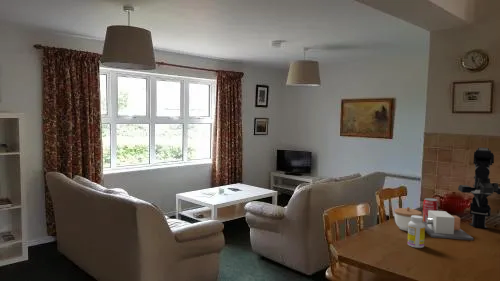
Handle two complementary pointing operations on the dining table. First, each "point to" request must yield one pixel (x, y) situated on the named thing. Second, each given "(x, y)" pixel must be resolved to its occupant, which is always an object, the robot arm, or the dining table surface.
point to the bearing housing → (444, 226)
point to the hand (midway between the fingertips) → (479, 206)
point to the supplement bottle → (416, 232)
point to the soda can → (429, 207)
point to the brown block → (456, 222)
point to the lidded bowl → (405, 217)
